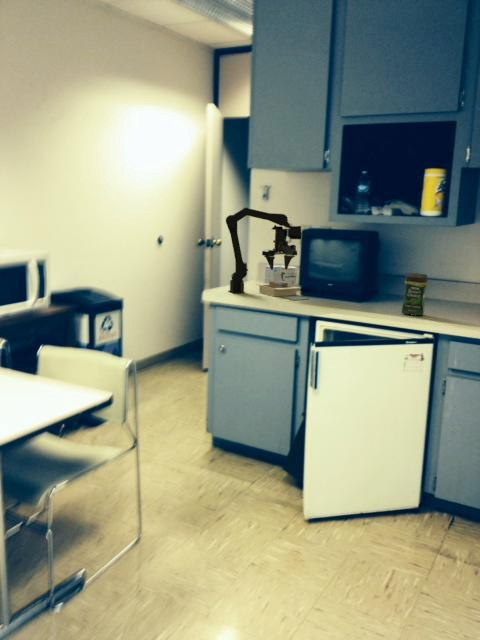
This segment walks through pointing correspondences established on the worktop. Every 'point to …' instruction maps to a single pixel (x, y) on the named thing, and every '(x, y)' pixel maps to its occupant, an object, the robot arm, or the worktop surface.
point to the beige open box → (277, 290)
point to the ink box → (288, 275)
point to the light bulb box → (272, 273)
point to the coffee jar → (414, 294)
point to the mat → (295, 298)
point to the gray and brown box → (277, 284)
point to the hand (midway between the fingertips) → (279, 269)
